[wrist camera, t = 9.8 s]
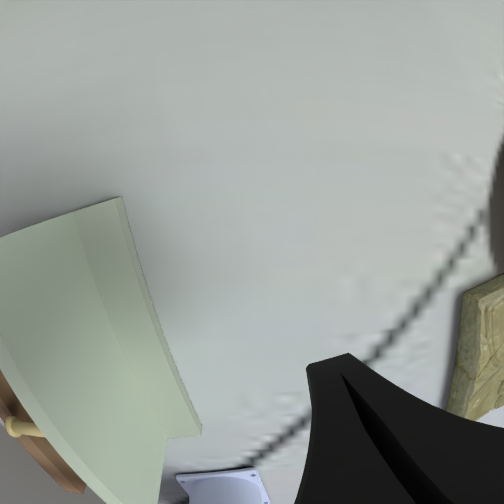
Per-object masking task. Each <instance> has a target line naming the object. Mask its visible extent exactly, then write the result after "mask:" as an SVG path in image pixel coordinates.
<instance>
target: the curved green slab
mask: <svg viewBox="0 0 504 504" xmlns="http://www.w3.org/2000/svg"><path fill="white" fill-rule="evenodd" d="M0 370H1V371H2V373H3V375H4V377H5V378H6V380H7V382H8V383H9V385H10V387H11V388H12V390H13V392H14V393H15V395H16V396H17V398H18V399H19V401H20V403H21V404H22V406H23V407H24V409H25V410H26V411H27V413H28V414H29V416H30V417H31V419H32V420H33V421H34V423H27V422H21V421H20V420H19V419H18V418H17V417H15V416H8V417H7V418H6V420H5V429H6V431H7V433H8V434H9V435H10V436H12V437H20V436H21V435H22V434H24V435H31V436H37V437H45V438H46V439H47V440H48V441H49V442H50V444H51V445H52V446H53V447H54V449H55V450H56V451H57V452H58V453H59V455H60V456H61V457H62V458H63V459H64V460H65V462H66V463H67V464H68V465H69V466H70V467H71V468H72V469H73V470H74V472H75V473H76V474H77V475H78V476H79V477H80V478H81V479H82V480H83V481H84V482H85V483H86V484H87V485H88V486H89V487H90V488H91V489H92V490H93V491H94V492H95V493H96V494H97V495H98V496H99V497H100V498H102V500H103V501H105V502H106V503H107V504H158V498H159V491H160V484H161V477H162V471H163V464H164V458H165V452H166V446H167V440H168V438H181V437H192V436H201V432H202V424H201V422H200V420H199V418H198V416H197V413H196V411H195V409H194V407H193V405H192V402H191V400H190V398H189V396H188V393H187V391H186V389H185V387H184V384H183V382H182V379H181V377H180V375H179V372H178V370H177V367H176V365H175V362H174V360H173V357H172V355H171V352H170V350H169V347H168V345H167V342H166V339H165V337H164V334H163V331H162V329H161V326H160V323H159V320H158V318H157V315H156V312H155V309H154V306H153V303H152V300H151V297H150V294H149V291H148V288H147V285H146V282H145V279H144V276H143V272H142V269H141V266H140V262H139V259H138V256H137V252H136V249H135V245H134V242H133V238H132V235H131V231H130V227H129V223H128V219H127V216H126V212H125V208H124V204H123V199H122V197H118V198H115V199H111V200H108V201H105V202H102V203H98V204H95V205H92V206H89V207H86V208H83V209H80V210H77V211H74V212H71V213H68V214H64V215H61V216H58V217H55V218H52V219H49V220H47V221H44V222H41V223H38V224H35V225H32V226H29V227H27V228H24V229H21V230H19V231H16V232H13V233H11V234H8V235H5V236H3V237H0Z"/></svg>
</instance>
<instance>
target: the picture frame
mask: <svg viewBox="0 0 504 504" xmlns="http://www.w3.org/2000/svg"><path fill="white" fill-rule="evenodd" d="M8 416H15V417H17V418H18V419H19V420H20V421H21V422H27V423H34V421H33V420H32V419H31V417H30V416H29V414H28V413H27V411H26V410H25V409H24V407H23V406H22V404H21V403H20V401H19V399H18V398H17V396H16V395H15V393H14V392H13V390H12V388H11V387H10V385H9V383H8V382H7V380H6V378H5V377H4V375H3V373H2V371H1V370H0V417H1V419H2V420H3V421H4V423H5V420H6V418H7V417H8ZM16 438H17V439H18V441H19V442H20V443H21V444H22V445H23V447H24V448H25V449H26V450H27V451H28V452H29V454H30V455H31V456H32V457H33V458H34V459H35V460H36V461H37V462H38V463H39V465H40V466H41V467H42V468H43V469H44V470H45V471H46V472H47V473H48V474H49V475H50V476H51V477H52V478H53V479H54V480H55V481H56V482H57V483H58V484H59V485H60V486H61V487H63V488H64V489H65V490H66V491H68V492H72V493H78V494H83V493H84V490H85V487H86V483H85V482H84V481H83V480H82V479H81V478H80V477H79V476H78V475H77V474H76V473H75V472H74V470H73V469H72V468H71V467H70V466H69V465H68V464H67V463H66V462H65V460H64V459H63V458H62V457H61V456H60V455H59V453H58V452H57V451H56V450H55V449H54V447H53V446H52V445H51V444H50V442H49V441H48V440H47V439H46V438H45V437H37V436H31V435H24V434H22V435H21V436H20V437H16Z"/></svg>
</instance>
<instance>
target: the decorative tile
mask: <svg viewBox="0 0 504 504" xmlns="http://www.w3.org/2000/svg"><path fill="white" fill-rule="evenodd" d="M503 405H504V273H502V274H499V275H497V277H496V278H494V279H492V280H490V281H488V282H486V283H483V284H481V285H479V286H477V287H475V288H473V289H470V290H468V291H466V292H465V293H464V294H463V297H462V307H461V319H460V331H459V338H458V346H457V354H456V362H455V368H454V373H453V378H452V383H451V388H450V393H449V398H448V403H447V407H446V411H447V412H449V413H452V414H454V415H457V416H460V417H463V418H466V419H469V420H472V421H476V420H478V419H479V418H481V417H482V416H484V415H485V414H486V413H488V412H489V411H491V410H494V409H497V408H499V407H502V406H503Z"/></svg>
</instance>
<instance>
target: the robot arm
mask: <svg viewBox="0 0 504 504" xmlns="http://www.w3.org/2000/svg"><path fill="white" fill-rule="evenodd" d="M306 372H307V379H308V385H309V392H310V399H311V406H312V421H311V431H310V440H309V447H308V453H307V458H306V463H305V468H304V472H303V476H302V480H301V483H300V487H299V490H298V494H297V497H296V500H295V503H294V504H504V428H501V427H496V426H492V425H488V424H484V423H480V422H476V421H472V420H469V419H466V418H463V417H460V416H457V415H454V414H452V413H449V412H447V411H444V410H442V409H439V408H437V407H435V406H433V405H431V404H429V403H427V402H425V401H423V400H421V399H419V398H417V397H415V396H413V395H412V394H410V393H408V392H406V391H405V390H403V389H401V388H400V387H398V386H396V385H395V384H393V383H392V382H390V381H388V380H387V379H385V378H384V377H382V376H381V375H379V374H378V373H376V372H375V371H374V370H372V369H371V368H369V367H368V366H367V365H365V364H364V363H362V362H361V361H360V360H358V359H357V358H356V357H354V356H353V355H351V354H350V353H346V354H343V355H340V356H336V357H333V358H329V359H326V360H322V361H319V362H315V363H311V364H309V365H308V366H307V367H306ZM176 480H177V481H178V482H179V484H180V485H181V486H182V488H183V489H184V490H185V491H186V493H187V494H188V495H189V496H190V497H189V504H271V502H270V499H269V497H268V495H267V492H266V490H265V488H264V485H263V483H262V480H261V478H260V476H259V473H258V471H257V469H256V468H253V467H251V468H244V469H237V470H229V471H221V472H210V473H198V474H181V475H177V476H176Z"/></svg>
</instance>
